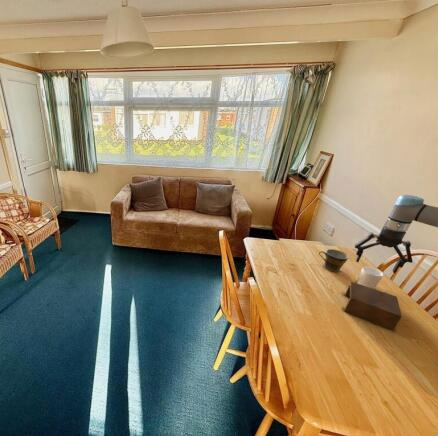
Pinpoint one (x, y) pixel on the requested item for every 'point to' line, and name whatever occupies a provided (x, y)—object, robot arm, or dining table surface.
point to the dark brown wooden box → (373, 305)
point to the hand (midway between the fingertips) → (374, 266)
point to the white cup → (369, 277)
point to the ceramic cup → (334, 259)
